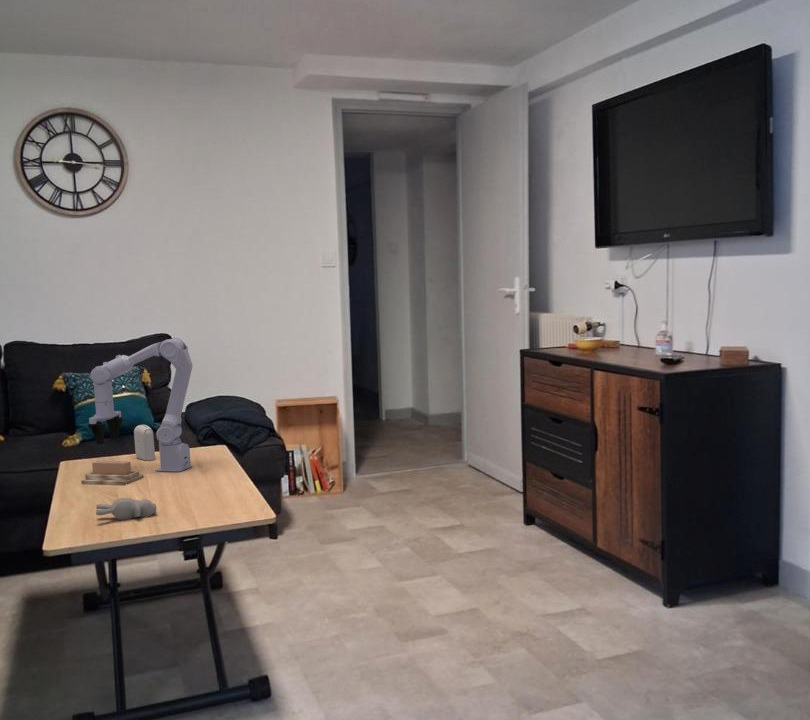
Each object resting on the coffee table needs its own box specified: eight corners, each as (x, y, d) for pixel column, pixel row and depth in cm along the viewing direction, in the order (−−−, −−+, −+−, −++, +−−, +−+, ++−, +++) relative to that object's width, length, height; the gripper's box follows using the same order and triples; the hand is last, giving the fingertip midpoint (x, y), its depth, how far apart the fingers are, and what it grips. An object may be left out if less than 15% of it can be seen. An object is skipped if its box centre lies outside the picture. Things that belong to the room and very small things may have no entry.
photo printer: (134, 457, 297) (131, 424, 296) (145, 455, 299) (143, 422, 298) (145, 461, 289) (142, 427, 288) (156, 459, 292) (154, 425, 290)
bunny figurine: (157, 503, 214) (96, 504, 209) (156, 522, 215) (95, 524, 209) (155, 495, 223) (96, 496, 218) (154, 513, 224) (95, 514, 218)
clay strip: (131, 476, 261) (130, 461, 260) (125, 479, 258) (124, 463, 257) (99, 476, 264) (98, 460, 264) (93, 478, 261) (92, 462, 261)
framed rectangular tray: (143, 477, 264) (143, 469, 263) (125, 485, 254) (124, 477, 254) (101, 476, 268) (100, 468, 268) (81, 483, 258) (80, 476, 258)
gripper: (107, 398, 280) (110, 437, 281) (79, 404, 266) (83, 445, 267) (125, 398, 278) (128, 437, 279) (98, 404, 264) (101, 446, 265)
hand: (107, 441), depth 273 cm, fingers open, 7 cm apart
